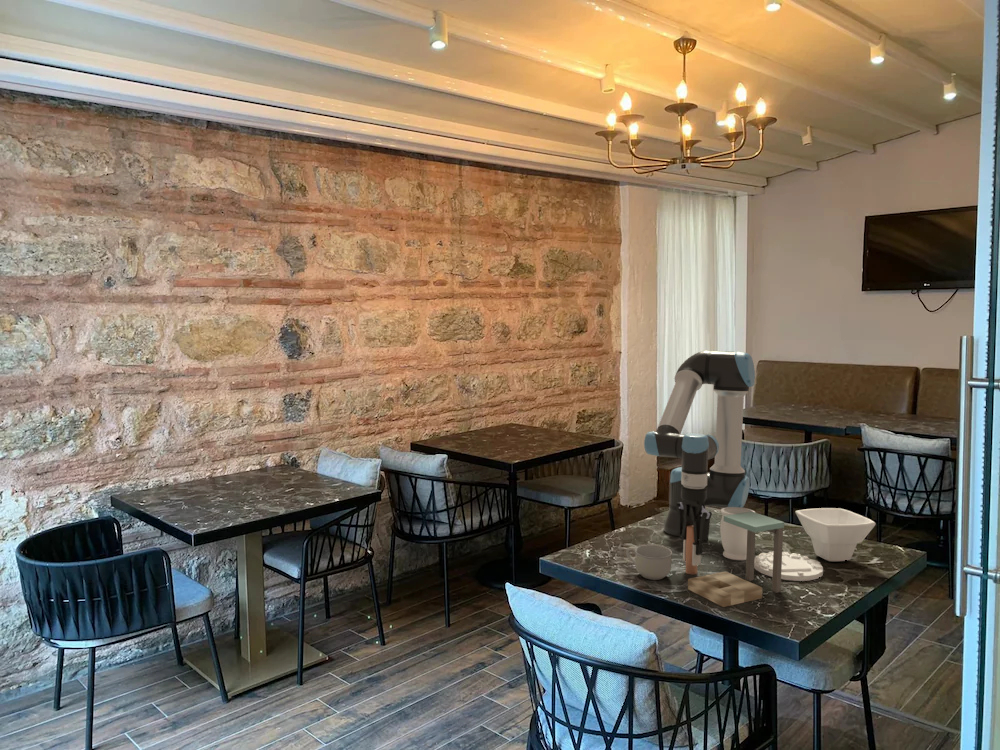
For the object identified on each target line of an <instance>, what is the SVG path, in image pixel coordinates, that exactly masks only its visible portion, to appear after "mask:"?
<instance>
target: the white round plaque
mask: <svg viewBox="0 0 1000 750" xmlns="http://www.w3.org/2000/svg"><path fill="white" fill-rule="evenodd" d="M773 553H774V550H773V551H768V552H761V553H760V554H758V555H755V559H754V570H755V571H757V572H759V573H761V574H762V575H766V576H768V577H771V578H772V577H773ZM823 574H824V567H823V566H822V564H821V562H820V561H818V560H817V559H811V558H809V556H807V555H803V556H801V554H800V553H794V552H793V553H791V554H790V553H789V552H788V551H782V569H781V580H786V581H795V582H796V581H797V582H801V581H802V582H805V581H807V582H808V581H813V580H817V579H819V577H820V578H821V577H823Z"/></svg>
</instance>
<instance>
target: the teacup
mask: <svg viewBox="0 0 1000 750" xmlns="http://www.w3.org/2000/svg"><path fill="white" fill-rule="evenodd" d="M631 551H633V553H634V555H635V558H634V557H633V556H632V555H631ZM625 553H626V554H625V555H626V557H627V559H628V560H629V561H630V562H631V563H633V565H634V566H635V569H636V572H637V573H638V574H639V575H640V576H642V577H643V578H644V579H648V580H653V581H654V580H655V581H657V580H658V581H659V580H662V579H664V578H665V577H666V576H668V575H669V574H670V573H671V570H672V560H673V559H672V558H673V557H672V556H673V551H672V549H670V548H669V547H666V546H663V545H660V544H653V543H652V544H650V543H649V544H643V545H639V546H637V547H635V546H629V547H627V549H626V550H625Z"/></svg>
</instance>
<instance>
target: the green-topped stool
mask: <svg viewBox="0 0 1000 750" xmlns="http://www.w3.org/2000/svg"><path fill="white" fill-rule="evenodd" d="M723 521H724V522H727V523H730V524H733V525H735V526H738V527H741V528H744V529H747V554H746V560H745V580H746V581H749V582H751V581H754V580H755V579H754V578H755V568H754V559H755V557H756V555H755V554H756V552H755V551H756V533H761V532H768V533H771V534H773V551H774V553H773V577H771V578H772V580H771V581H772V582H771V583H772V584H771V591H772V592H774V593H776V594H777V593H780V592H782V590H781V589H782V587H781V586H782V579H781V569H782V552H783V542H784V528H785V522H784V521H782V520H779V519H776V518H774V517H773V518H772V517H769V516H767V515H764V514H761V513H758V512H756V511H755V512H746V513H740V514H733V515H727V516H724V519H723Z"/></svg>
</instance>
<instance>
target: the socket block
mask: <svg viewBox="0 0 1000 750" xmlns="http://www.w3.org/2000/svg"><path fill="white" fill-rule="evenodd" d="M687 590H689V591H691V592H692V593H694V594H696V595H698V596H701V597H702V598H705V599H707V600H708V601H710V602H713V603H714V604H716V605H717V606H721V607H723V608H725V607H729V606H734V605H739V604H743V603H747V602H752V601H756V600H760V599H763V587H761V586H759V585H758V584H755V583H752V582H751V581H749V580H746V579H743V578H742V577H740V576H737V575H735V574H733V573H730V572H728V571H726V570H725V571H721V572H715V573H710V574H706V575H702V576H696V577H695V576H694V577H690V578H687Z"/></svg>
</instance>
